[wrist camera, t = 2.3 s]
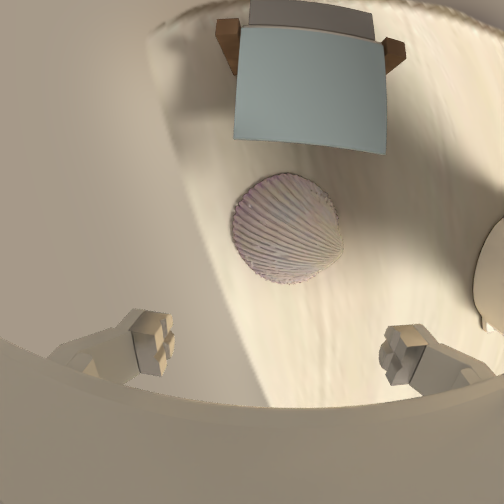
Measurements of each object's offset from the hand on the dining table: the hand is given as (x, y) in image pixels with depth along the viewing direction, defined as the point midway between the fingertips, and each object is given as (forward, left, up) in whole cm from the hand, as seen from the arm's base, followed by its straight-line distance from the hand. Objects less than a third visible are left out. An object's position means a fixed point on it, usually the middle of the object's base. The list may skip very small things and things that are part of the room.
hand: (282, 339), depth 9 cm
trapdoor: (-2, -13, -13) cm, 19 cm away
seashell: (-1, -1, -17) cm, 17 cm away
